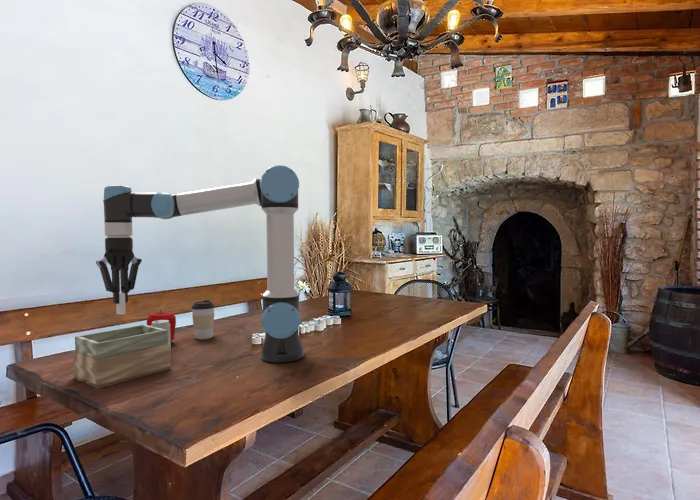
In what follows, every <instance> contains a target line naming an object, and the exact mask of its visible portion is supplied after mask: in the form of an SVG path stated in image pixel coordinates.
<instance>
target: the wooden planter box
mask: <svg viewBox="0 0 700 500" xmlns="http://www.w3.org/2000/svg"><path fill="white" fill-rule="evenodd" d="M171 352H172V351H171ZM171 352H170V344H168V330H165V329H161V328H157V327H152V326H148V325H147V324H139V325H133V326H127V327H122V328H117V329H115V328H114V329H110V330H103V331H99V332H98V331H97V332H93V333H87V334H83V335H76V336H74V351H72V360H73V361H72V364H73V365H72V366H73V378H74V379H75V380H77V381H80V382H82V383H83V384H84V383H85V385H88V386H90V387H93V388H95V389H97V390H98V389H102V388H106V387H110V386H113V385H117V384H121V383H124V382H128V381H132V380H136V379H138V378H139V379H140V378H142V377H147V376H151V375H153V374H157V373H161V372H165V371H169V370H171V369H172V362H171V361H172V359H171V357H172V355H171Z"/></svg>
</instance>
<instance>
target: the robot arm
mask: <svg viewBox="0 0 700 500" xmlns="http://www.w3.org/2000/svg"><path fill="white" fill-rule="evenodd" d="M299 189H300V180H299V177H298V175H297V173H296V172H295V171H294V170H293V169H292V168H290V167H288V166H286V165H282V164H281V165H280V164H278V165H277V164H276V165H273V166H270V167H269V168H267V169H265V171H264V172H263V173H262V174H261V177H257V178H254V179H253V180H252V181H250V182H244V183H238V184H233V185H232V184H231V185H226V186H218V187H214V188H212V187H211V188H205V189H199V190H191V191H187V192H180V193H172V194H171V193H169V192H161V191H160V192H159V191H158V192H133V191H132V187H131V186H127V185H117V184H116V185H115V184H114V185H106V186H105V187H104V189H103V200H102V202H103V212H104V213H103V215H104V236H106V237H105V239H104V250H105V251H104V255H103V258H101V259H100V260H96V261H95V264H96V265H97V267H98V268H99V271H100V274H101V277H102V281H103V283H104V288H105V291H106V292H109V293H112V299H113V300H112V302H113V304H115V306H116V309H115V310H116V311H115V312H116V314H117V315H126V303H128V302H129V293H130V291H132V290H133V291H134V289H135V286H136V285H135V284H136V280H137V275H138V272H139V268H140V267H139V266H140V265H141V263H142V261H143V260H142V259H141V258H138V257H136V256H135V253H134V251H133V249H134V246H133V245H134V244H133V243H134V241H133V238H132V237H131V236H133V218H156V219H161V220H170V219H172V218H177V217H183V216H188V215H194V214H201V213H207V212H214V211H220V210H226V209H233V208H239V207H244V206H253V205H258V206H259V207H261V210H262V211H263V212H264V214H265V215H266V281H267V285H266V286H267V287H266V290H265V291H264V292H263V293H262V316H261V325H262V327H263V330H264V335H265V336H264V339H263V344H262V348H261V349H260V360H262V361H265V362H268V363H270V362H271V363H289V362H294V361H297V360H300V359H302V358H303V357H304V356H305V348H304V347H303V344H302V341H301V338H300V334H299V326H300V324H301V315H300V293H299V292H298V291H297V290H296V289H295V235H294V233H295V231H294V229H295V228H294V227H295V226H294V225H295V223H294V219H295V218H294V217H295V216H294V215H295V213H296V212H297V211H298V210H299ZM130 264H131V265H130ZM108 265H109V266H110V270H111V275H110V271H109V268H108ZM129 266H130V270H129Z"/></svg>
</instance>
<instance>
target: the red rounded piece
mask: <svg viewBox="0 0 700 500" xmlns="http://www.w3.org/2000/svg"><path fill="white" fill-rule="evenodd" d="M157 320H169V323H170V335H171V342H172V341H173V340H175V335H176V334H175V332H176V326H177V325H176V324H177V319H176V315H175V314H174V313H173V312H170V311H162V310H161V309H160V310H159V311H157V312H152V313H150V314H148V316H147V317H146V325H148V326H151V324H152V322H153V321H157Z"/></svg>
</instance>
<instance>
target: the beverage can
mask: <svg viewBox="0 0 700 500" xmlns="http://www.w3.org/2000/svg"><path fill="white" fill-rule="evenodd" d="M151 326H152V327H157V328H161V329H165V330H168V344H170V352H172V347H171V345H172V343H171V342H172V341H171V335H170V323H169V320H157V321H153V322H152V324H151Z"/></svg>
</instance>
